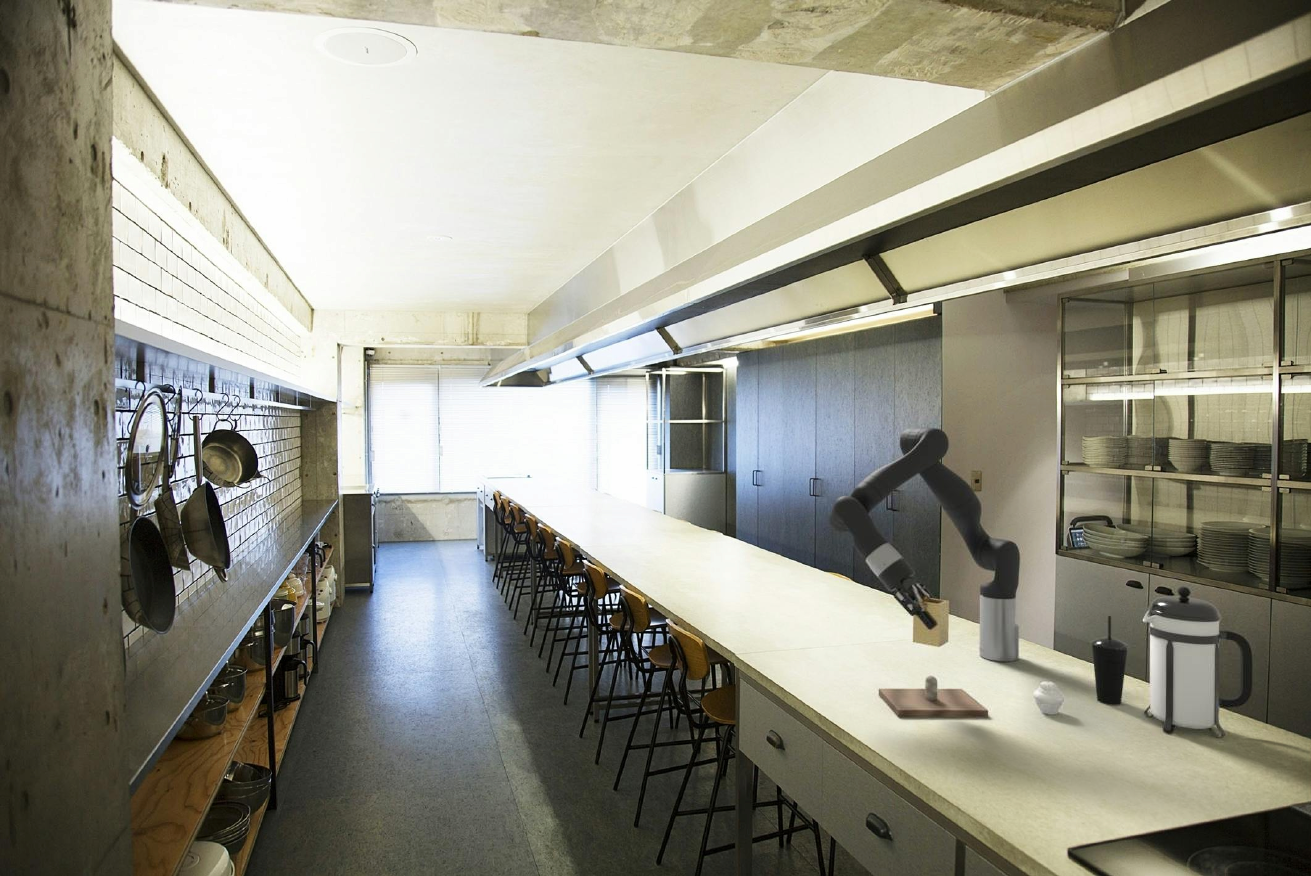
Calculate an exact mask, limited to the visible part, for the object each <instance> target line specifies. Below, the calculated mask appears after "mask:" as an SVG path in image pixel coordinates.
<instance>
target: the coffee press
mask: <svg viewBox="0 0 1311 876" xmlns="http://www.w3.org/2000/svg"><path fill="white" fill-rule="evenodd" d="M1177 593H1178V595H1179V596H1178V595H1177V596H1176V595H1164V596H1161V597H1156V598H1155V599H1153V600H1152V602H1151V604H1150V605H1149V606H1148V607H1147V612H1146V613H1145V614H1144V617H1143V619H1142V622H1143V623H1149V624H1148V633H1149V634H1150V635H1149V705H1148V707H1147V708H1146V709H1145V710H1144V711H1143V713H1144V716H1145V717H1147V718H1151V717H1153V716H1154V717H1155V718H1156V719H1158V720H1160V721H1162V722H1163V723H1164V724H1163V726H1162V731H1163V732H1164V733H1166V734H1170V735H1172V734H1173V733H1174V731H1175V729H1176V728H1177V727H1182V728H1187V729H1196V730H1199V729H1200V730H1202V729H1203V730H1204V729H1205V730H1206V729H1207V730H1209V731H1210V732H1211V733H1212V734H1213V736H1215V738H1217V739H1221V738H1223V737H1225V736H1226V731H1224V729H1223V728H1222V726H1221V724H1220V721H1219V720H1220V719H1219V717H1220V716H1219V712H1220V708H1238V707H1241V706H1243V705H1245V704H1246V703H1247V702H1248V701H1249V700H1250V698H1251V695H1252V691H1253V690H1252V689H1253V653H1252V648H1251V646H1250V644H1249V642H1248V640H1247V639H1246V638H1245V637H1244V636H1243V635H1240V634H1239V633H1236V632H1234V631H1230V630H1220V621H1221V620H1222V614H1221V613H1219V610H1218V609H1217V607H1216V606H1215V605H1214V604H1212V603H1210V602H1208V601H1206V600H1202V599H1199V598H1195V597H1189V596H1190V595H1191V590H1190V589H1189V588H1188V587H1187V586H1181V587H1179V588H1178V589H1177ZM1222 639H1223V640H1227V641H1229V640H1230V641H1233V642H1234V643H1236V644H1237V646H1238V648H1239V651H1240V677H1239V678H1240V684H1239V691H1238V693H1237V694H1236V695H1235V696H1234V697H1231V698H1224V697H1223V698H1221V697H1220V696H1219V695H1220V693H1219V691H1220V690H1219V689H1220V687H1219V686H1220V685H1219V684H1220V681H1219V680H1220V649H1219V648H1220V646H1219V645H1220V642H1221V640H1222ZM1149 710H1150V713H1151V714H1152V715H1151V714H1149V712H1148V711H1149ZM1215 726H1216V728H1217V730H1218V731H1219V732H1220V734H1221V735H1220V734H1219V733H1218V732H1217V731H1216V730H1215V729H1214V728H1213V727H1215Z"/></svg>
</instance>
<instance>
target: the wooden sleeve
mask: <svg viewBox="0 0 1311 876" xmlns="http://www.w3.org/2000/svg"><path fill="white" fill-rule="evenodd" d="M920 604H921V605H922V606H923V607H924V609H925V611H927V612H928V614H929V615H930V616H931V617H932V618H933V620H934V621H935V622H936V623H937V625H936V626H935V627H934V628H933V629H931V630H929V629H928V628H927V627H926V626H925V625H924V623H923V622H922V621H921V620H920V619H919V617H916V616H915V615H913V616H912V617H913V618H912V620H913V621H912V643H916V644H921V645H926V646H932V647H937V648H940V647H942V646H943V645H946V644H948V642H949V630H950V629H949V625H950V624H949V619H950V617H949V616H950V615H949V613H950V611H949V610H950V601H949V600H945V599H938V598H936V599H933V598H927V599H925V597H924V598H923V599H922V602H920ZM925 611H924V612H925Z"/></svg>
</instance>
